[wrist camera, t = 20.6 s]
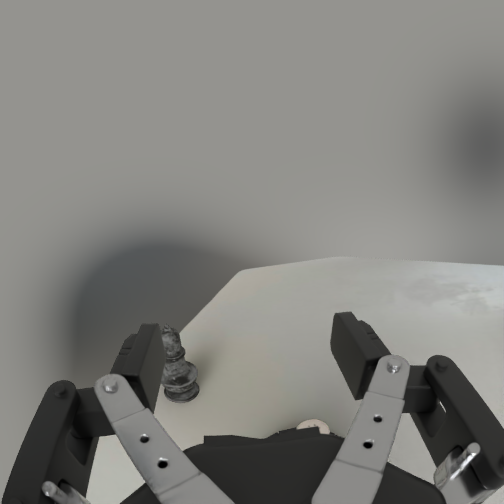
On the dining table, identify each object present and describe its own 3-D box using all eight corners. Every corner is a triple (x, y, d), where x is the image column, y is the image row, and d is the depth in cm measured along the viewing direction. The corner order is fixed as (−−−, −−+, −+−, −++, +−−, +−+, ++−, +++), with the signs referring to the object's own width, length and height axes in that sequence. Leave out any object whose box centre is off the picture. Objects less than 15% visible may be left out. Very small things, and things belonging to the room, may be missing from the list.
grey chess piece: (178, 372, 42) (164, 308, 39) (208, 385, 40) (198, 318, 36) (154, 394, 38) (134, 328, 34) (185, 410, 35) (168, 342, 31)
